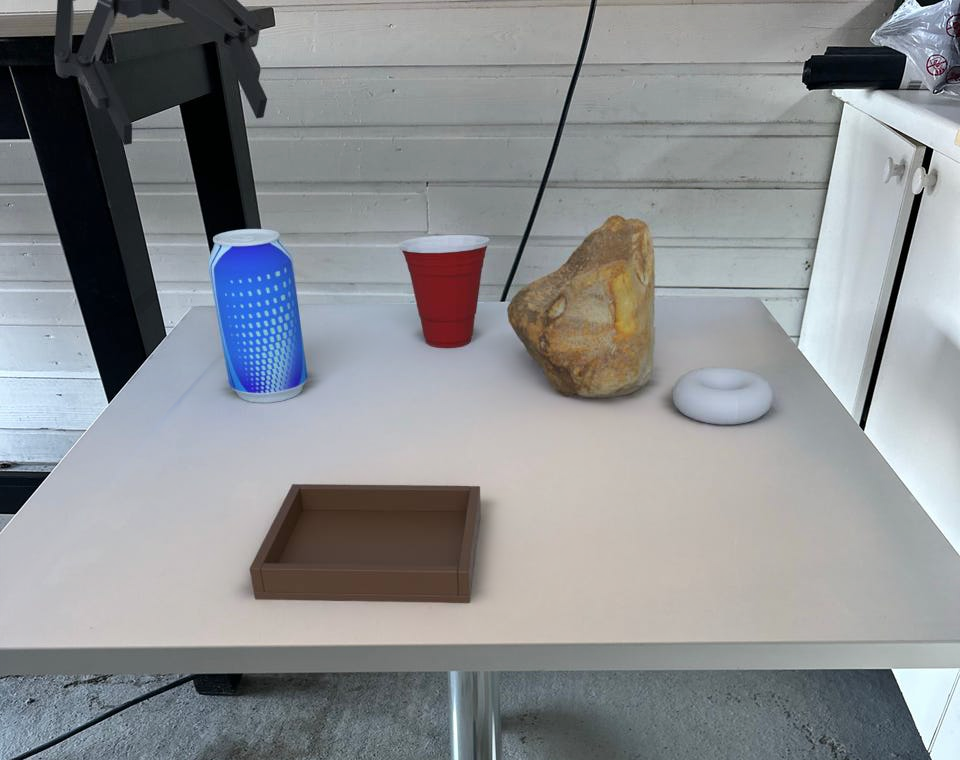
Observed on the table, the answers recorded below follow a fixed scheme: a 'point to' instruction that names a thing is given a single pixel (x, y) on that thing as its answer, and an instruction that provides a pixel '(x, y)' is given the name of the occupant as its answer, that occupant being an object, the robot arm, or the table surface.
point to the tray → (371, 544)
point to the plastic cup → (446, 284)
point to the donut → (722, 395)
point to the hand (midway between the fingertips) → (197, 122)
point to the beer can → (258, 314)
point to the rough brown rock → (594, 314)
